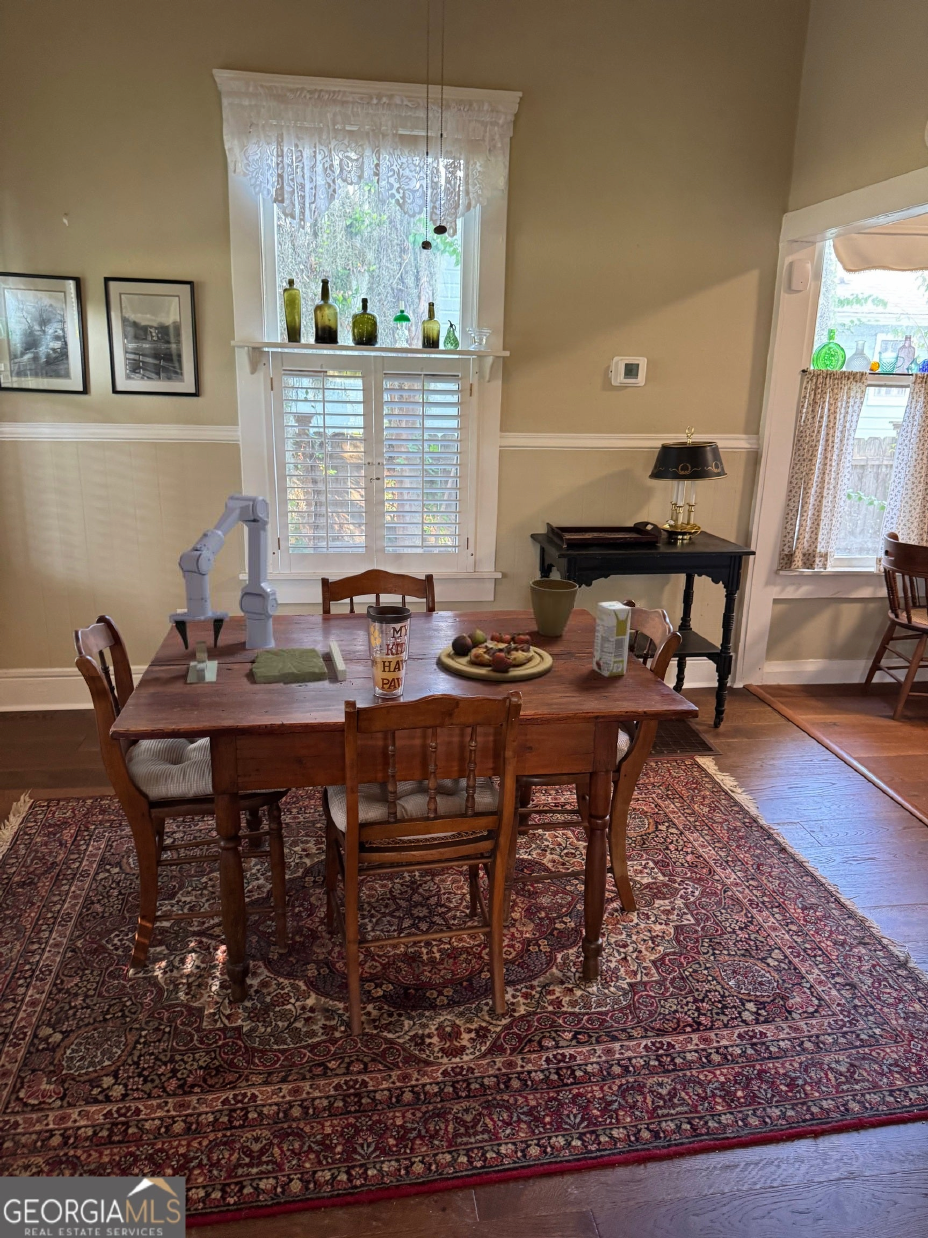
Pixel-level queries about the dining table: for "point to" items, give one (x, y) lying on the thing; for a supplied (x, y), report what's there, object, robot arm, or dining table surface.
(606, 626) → the juice carton
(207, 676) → the mat
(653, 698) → the dining table surface
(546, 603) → the plant pot
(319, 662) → the decorative tile
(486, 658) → the wooden plate with food
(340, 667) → the rail
